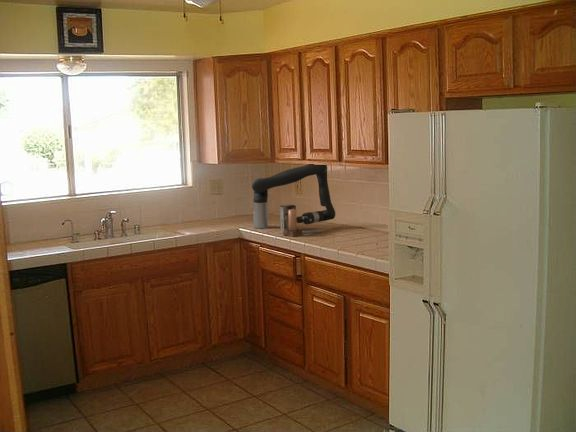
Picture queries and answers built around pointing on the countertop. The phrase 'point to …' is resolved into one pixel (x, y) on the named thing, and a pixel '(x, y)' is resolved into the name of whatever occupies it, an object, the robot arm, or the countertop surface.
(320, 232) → the mat
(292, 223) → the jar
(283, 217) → the coffee box
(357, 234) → the countertop surface
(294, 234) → the collar
